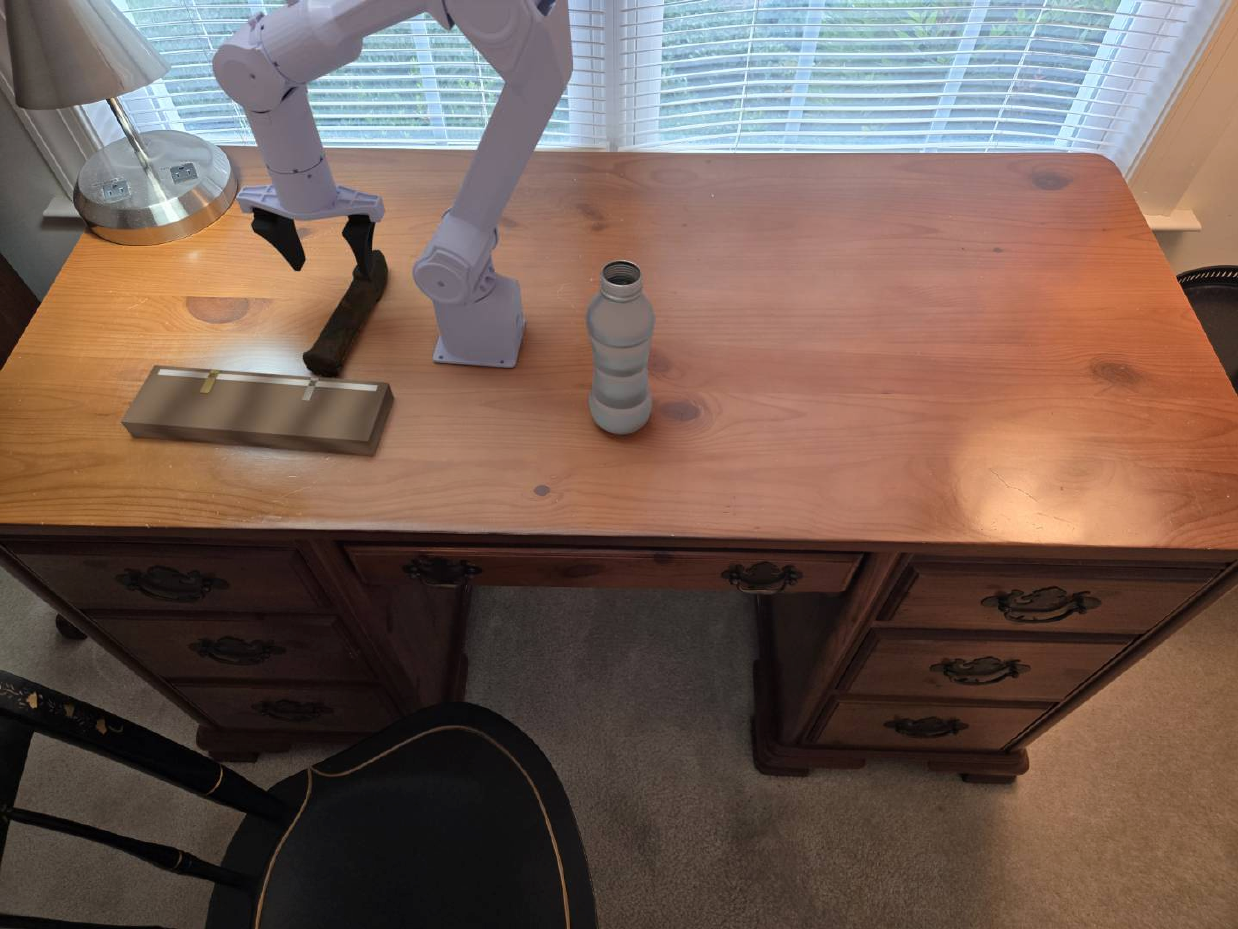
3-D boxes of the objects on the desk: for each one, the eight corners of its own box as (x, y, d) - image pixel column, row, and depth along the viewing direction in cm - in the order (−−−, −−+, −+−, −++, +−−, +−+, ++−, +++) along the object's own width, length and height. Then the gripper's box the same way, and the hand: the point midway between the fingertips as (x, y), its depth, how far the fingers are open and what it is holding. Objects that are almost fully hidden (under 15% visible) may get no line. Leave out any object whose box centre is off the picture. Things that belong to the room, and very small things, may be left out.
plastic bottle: (631, 452, 83) (635, 308, 67) (577, 425, 85) (569, 279, 69) (662, 412, 86) (673, 265, 70) (609, 387, 88) (608, 239, 72)
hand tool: (340, 383, 89) (328, 354, 85) (308, 376, 89) (294, 347, 85) (408, 275, 99) (400, 245, 96) (379, 269, 100) (370, 239, 96)
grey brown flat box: (393, 397, 87) (388, 381, 85) (373, 455, 82) (367, 440, 80) (165, 380, 88) (154, 364, 86) (132, 436, 84) (119, 421, 81)
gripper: (379, 138, 79) (407, 249, 90) (237, 129, 80) (282, 240, 90) (358, 180, 75) (390, 290, 86) (209, 170, 75) (260, 281, 86)
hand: (333, 267), depth 88 cm, fingers open, 7 cm apart
